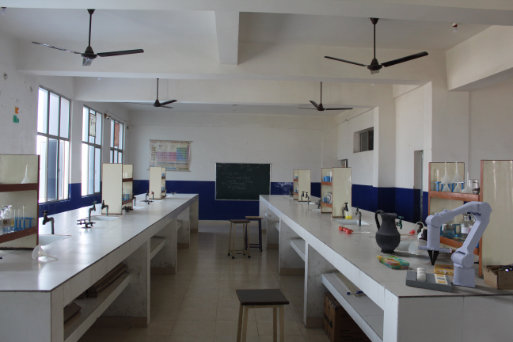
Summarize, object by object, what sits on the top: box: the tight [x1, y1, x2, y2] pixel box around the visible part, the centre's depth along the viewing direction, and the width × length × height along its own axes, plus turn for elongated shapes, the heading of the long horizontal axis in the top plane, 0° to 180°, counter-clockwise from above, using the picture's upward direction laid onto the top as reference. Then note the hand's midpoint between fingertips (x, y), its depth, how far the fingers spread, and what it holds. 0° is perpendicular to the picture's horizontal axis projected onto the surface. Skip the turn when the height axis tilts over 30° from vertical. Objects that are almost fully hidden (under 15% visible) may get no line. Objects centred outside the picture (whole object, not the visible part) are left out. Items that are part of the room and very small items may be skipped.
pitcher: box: [374, 209, 401, 255], centre depth 259 cm, size 17×21×30 cm
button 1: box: [416, 267, 426, 272], centre depth 189 cm, size 4×4×4 cm
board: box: [405, 269, 452, 293], centre depth 182 cm, size 20×20×4 cm
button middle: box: [416, 269, 427, 274], centre depth 183 cm, size 4×4×4 cm
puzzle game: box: [375, 254, 411, 270], centre depth 220 cm, size 12×5×20 cm
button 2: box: [417, 273, 426, 282], centre depth 177 cm, size 4×4×4 cm
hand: (432, 265), depth 181 cm, fingers closed
